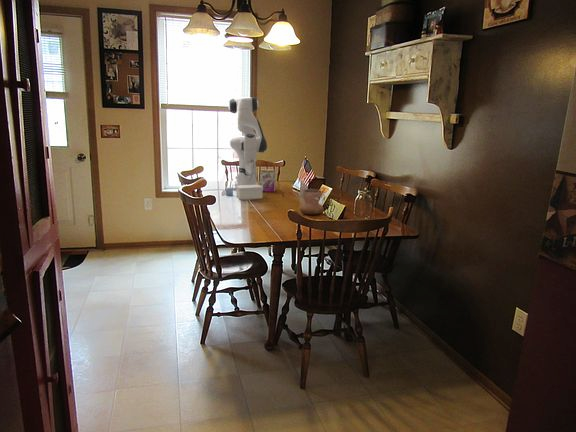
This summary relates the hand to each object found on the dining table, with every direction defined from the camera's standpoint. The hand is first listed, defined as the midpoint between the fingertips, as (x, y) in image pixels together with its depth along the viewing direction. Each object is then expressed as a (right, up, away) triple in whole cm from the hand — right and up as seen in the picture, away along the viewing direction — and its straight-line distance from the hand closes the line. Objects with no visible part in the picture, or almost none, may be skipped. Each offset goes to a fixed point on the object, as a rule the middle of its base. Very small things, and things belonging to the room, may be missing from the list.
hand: (250, 178), depth 303 cm
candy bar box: (+10, -7, +30) cm, 32 cm away
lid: (-1, -7, +4) cm, 8 cm away
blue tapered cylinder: (-16, -10, +14) cm, 24 cm away
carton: (-1, -13, +6) cm, 14 cm away
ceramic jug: (+40, -24, -35) cm, 58 cm away
